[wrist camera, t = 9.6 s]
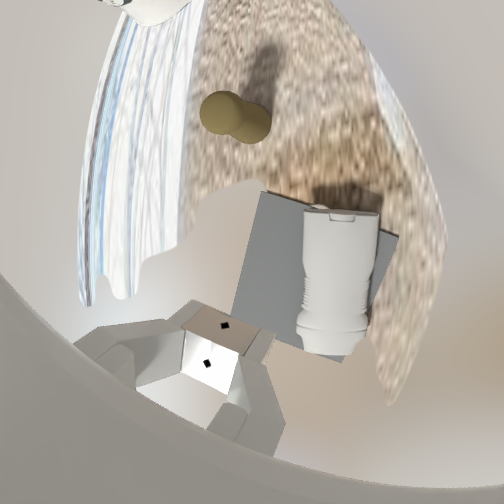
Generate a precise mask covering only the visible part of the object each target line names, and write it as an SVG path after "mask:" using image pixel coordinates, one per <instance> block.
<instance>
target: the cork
mask: <svg viewBox="0 0 504 504" xmlns="http://www.w3.org/2000/svg"><path fill="white" fill-rule="evenodd" d="M200 120H201V122H202V125H203V126H204V127H205V128H206V129H207V130H208V131H210V132H212V133H214V134H219V135H225V134H229V135H230V136H232V137H234V138H235V139H237V140H239V141H241V142H242V143H246V144H254V143H258V142H260V141H262V140H263V139H264V138H265V137H266V136H267V135H268V133H269V131H270V128H271V117H270V115H269V113H268V111H267V110H266V109H265V108H264V107H262V106H260V105H258V104H254V103H250V102H245V101H243V100H242V99H241V98H240V97H239V96H238V95H237V94H235V93H232V92H230V91H217V92H214V93H212V94H210V95H209V96H208V97H207V98H206V99H205V100H204V101H203V103H202V105H201V108H200Z"/></svg>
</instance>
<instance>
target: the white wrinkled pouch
mask: <svg viewBox="0 0 504 504" xmlns="http://www.w3.org/2000/svg"><path fill="white" fill-rule="evenodd" d="M378 224H379V214H378V213H373V212H364V211H351V210H342V209H332V210H329V209H304V227H303V257H302V262H303V266H304V269H305V273H306V276H304V278H305V280H304V284H305V285H304V287H305V288H303V289H304V290H303V292H304V293H303V295H304V296H303V299H302V301H303V302H302V305H301V307H302V308H303V309H302V310H301V311H300V312H299V313H298V315H297V322H296V333H297V334H299V335H300V336H301V337H302V341H303V345H304V350H305V351H307V352H311V353H315V354H322V355H350V354H352V353H353V351H354V348H355V347H356V344H357V343H358V341H360V340H362V339H363V338H364V337H365V336H366V331H367V326H368V317H367V316H366V314H365V313H364V312H366V311H367V307H366V306H367V299H368V297H367V296H368V291H369V290H368V288H369V283H370V280H369V277H370V275H371V272H372V270H373V268H374V265H375V256H376V247H377V236H378Z"/></svg>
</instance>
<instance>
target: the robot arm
mask: <svg viewBox="0 0 504 504" xmlns="http://www.w3.org/2000/svg"><path fill="white" fill-rule="evenodd" d="M99 1H102V2H104V3H106V4H109V5H112V6H117V7H119V8H120V9H122V10H123V11H124V12H126V13H127V14H128V15H130V16H131V17H132V18H133V19H134V20H135V22H136V23H137V24H139V25H141V26H154V25H157V24H160V23H162V22H164V21H166V20H168V19H169V18H171V17H172V16H174V15H175V14H176V13H178V12H179V11H180V10H181V9H182V8H183V7H184V6H185V5H186V4H187V3H189V2H190V1H192V0H99ZM275 338H276V333H274V332H272V331H269V330H266V329H263V328H259V327H257V326H254V325H251V324H249V323H246V322H244V321H241V320H239V319H236V318H234V317H232V316H230V315H227V314H226V313H223V312H221V311H219V310H216V309H215V308H212V307H210V306H208V305H206V304H204V303H201V302H199V301H197V300H190V301H189V302H188V303H187V304H186V305H184V306H183V307H182V308H181V309H180V310H178V311H177V312H176V313H175V314H174V315H172V316H171V317H170V318H169V319H167V320H165V319H156V320H150V321H143V322H134V323H128V324H127V323H126V324H118V325H110V326H101V327H97V328H96V329H94V330H93V331H92V332H90V333H88V334H87V335H85V336H84V337H82V338H81V339H79V340H78V341H76V342H75V343H73V344H72V343H70V342H69V341H68V340H67V339H66V338H64V337H63V336H62V335H61V334H60V333H59V332H58V331H56V330H55V329H54V328H53V327H52V326H51V325H50V324H49V323H48V322H47V321H45V320H44V319H43V318H42V317H41V316H40V315H39V314H38V313H37V312H36V311H35V310H34V309H33V308H32V307H31V306H30V305H29V304H28V303H27V302H26V301H25V300H24V299H23V298H22V297H21V296H20V295H19V294H18V293H17V292H16V291H15V289H14V288H13V287H12V286H11V285H10V284H9V283H8V282H7V281H6V279H5V278H4V277H3V276H2V275H1V274H0V504H504V484H501V485H493V486H484V487H469V488H424V487H409V486H398V485H389V484H381V483H375V482H369V481H363V480H357V479H352V478H347V477H342V476H337V475H333V474H328V473H325V472H321V471H317V470H313V469H309V468H306V467H302V466H299V465H295V464H292V463H289V462H286V461H283V460H280V459H277V458H274V457H273V455H274V453H275V450H276V448H277V445H278V442H279V440H280V437H281V434H282V432H283V429H284V427H285V420H284V418H283V415H282V412H281V409H280V406H279V403H278V400H277V397H276V395H275V392H274V389H273V386H272V383H271V380H270V377H269V374H268V372H267V368H266V366H265V364H266V362H267V359H268V356H269V354H270V351H271V348H272V346H273V343H274V340H275ZM180 371H181V372H183V373H185V374H187V375H189V376H191V377H193V378H195V379H198V380H200V381H202V382H204V383H206V384H208V385H210V386H212V387H214V388H216V389H218V390H220V391H222V392H224V393H226V394H227V403H224V404H223V405H222V406H221V408H220V409H219V411H218V413H217V414H216V415H215V417H214V419H213V420H212V422H211V423H210V424H209V426H208V427H207V429H204V428H202V427H200V426H198V425H196V424H194V423H192V422H190V421H188V420H186V419H184V418H182V417H180V416H178V415H176V414H175V413H173V412H171V411H169V410H168V409H166V408H164V407H162V406H161V405H159V404H157V403H155V402H154V401H152V400H150V399H149V398H147V397H145V396H144V395H142V394H141V393H139V392H137V391H136V387H140V386H143V385H146V384H149V383H152V382H155V381H158V380H160V379H163V378H166V377H169V376H172V375H174V374H177V373H180Z"/></svg>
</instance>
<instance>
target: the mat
mask: <svg viewBox="0 0 504 504" xmlns="http://www.w3.org/2000/svg"><path fill="white" fill-rule="evenodd" d="M304 209H318V208H315V207H312V206H308V205H305V204H302V203H299V202H296V201H293V200H290V199H286V198H283V197H280V196H277V195H273V194H270V193H267V192H263V191H261V194H260V198H259V202H258V206H257V210H256V215H255V218H254V222H253V226H252V230H251V234H250V239H249V242H248V246H247V251H246V254H245V259H244V263H243V267H242V271H241V275H240V279H239V283H238V287H237V291H236V296H235V299H234V303H233V308H232V311H231V316H232V317H234V318H236V319H239V320H241V321H244V322H246V323H249V324H251V325H254V326H257V327H259V328H263V329H266V330H269V331H272V332H274V333H276V338H275V339H276V340H279V341H281V342H284V343H287V344H289V345H292V346H295V347H297V348H300V349H303V350H304V345H303V341H302V337H301V336H300V335H299V334H297V333H296V322H297V315H298V313H299V312H300V311H301V310H302V309H303V308H302V307H301V305H302V302H303V301H302V299H303V296H304V295H303V293H304V292H303V290H304V289H303V288H305V287H304V285H305V284H304V280H305V278H304V276H306V273H305V269H304V266H303V262H302V257H303V227H304ZM398 240H399V237H396V236H393V235H391V234H388V233H385V232H383V231H380V230H378V236H377V247H376V256H375V265H374V268H373V270H372V272H371V275H370V277H369V280H370V283H369V288H368V290H369V291H368V296H367V297H368V299H367V306H366V307H367V311H366V312H364V313H365V314H366V315H367V312H368V310H369V308H370V306H371V304H372V302H373V300H374V298H375V295H376V293H377V291H378V289H379V286H380V284H381V282H382V279H383V277H384V275H385V272H386V270H387V268H388V265H389V263H390V260H391V258H392V255H393V253H394V250H395V247H396V245H397V242H398ZM314 354H315V353H314ZM317 355H319V356H322V357H325V358H328V359H332V360H334V361H337V362H340V363H341V362H342V360H343V359H344V357H345V355H322V354H317Z"/></svg>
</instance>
